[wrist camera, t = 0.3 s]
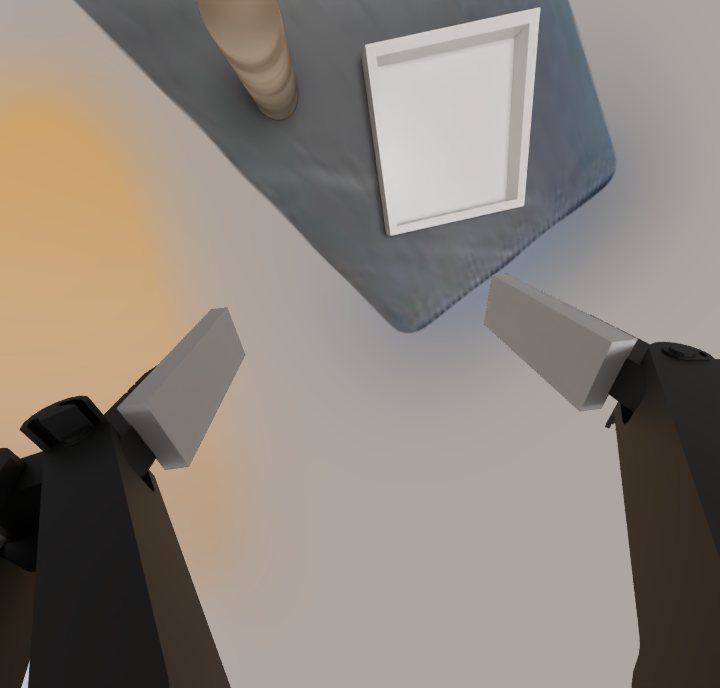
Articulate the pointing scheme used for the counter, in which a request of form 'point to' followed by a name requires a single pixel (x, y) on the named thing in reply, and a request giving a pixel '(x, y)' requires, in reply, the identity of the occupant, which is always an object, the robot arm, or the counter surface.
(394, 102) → the tray
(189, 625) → the robot arm
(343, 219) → the counter surface
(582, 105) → the counter surface
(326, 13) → the counter surface
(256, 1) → the dowel
